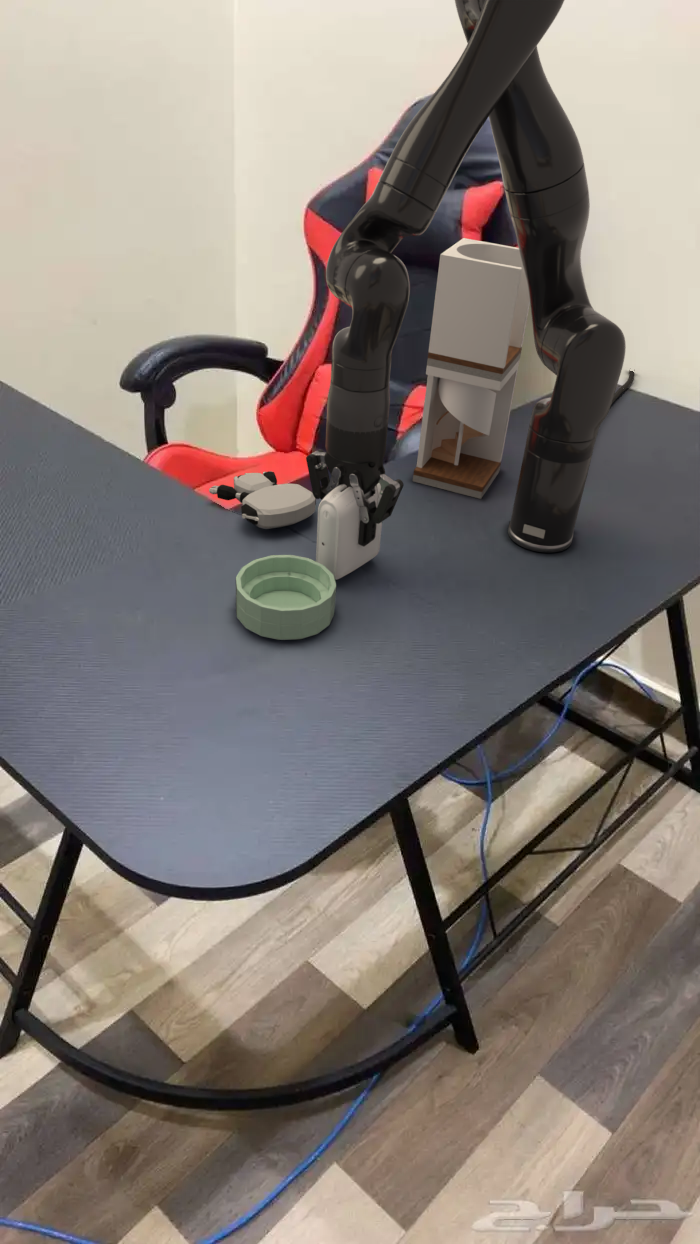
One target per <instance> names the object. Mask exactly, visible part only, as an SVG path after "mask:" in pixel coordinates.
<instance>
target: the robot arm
mask: <svg viewBox="0 0 700 1244" xmlns="http://www.w3.org/2000/svg"><path fill="white" fill-rule="evenodd" d="M564 3H565V0H454V4H455V8H456V13H457V16H458V19H459V22H460V26H461V29H462V31H463V34H464V37H465V41H466V43H467V44H466V46H465V48H464V49H463V51H462V53H461V55H460V57H459V59H458V60H457V61H456V63H455V65H454V66H453V68H452V69H451V71H450V72H449V73H448V75H447V76H446V77H445V79H444V80H443V82H442V83H441V84H440V85H439V87H438V88H437V89H436V90H435V92H434V93H433V94H432V95H431V96H430V97H429V99H428V100H427V101H426V102H425V104H423V106H422V107H421V108H420V109H419V110H418V112H416V114H415V115H414V116H413V118H412V119H411V120H410V122H409V123H408V124H407V126H406V128H405V129H404V131H403V132H402V134H401V136H400V137H399V139H398V141H397V142H396V144H395V146H394V148H393V150H392V152H391V153H390V157H389V158H388V160H387V162H386V164H385V167H384V169H383V170H382V172H381V175H380V177H379V179H378V181H377V183H376V185H375V188H374V190H373V192H372V194H371V196H370V197H369V198H368V200H367V201H365V203H364V204H363V205H362V207H361V208H360V209H359V210H358V212H356V214H355V216H354V217H353V218H352V220H350V222H349V223H348V225H347V226H346V227H345V229H344V230H343V231H342V232H341V234H340V235H339V236H338V238H337V239H336V241H335V243H334V244H333V246H332V249H331V251H330V253H329V256H328V258H327V263H326V268H325V281H326V285H327V287H328V290H329V292H330V293H331V294H332V295H333V296H334V297H335V298H336V299H338V300H339V301H341V302H342V303H344V304H345V305H347V306H348V307H350V308H351V309H352V316H351V322H350V325H349V326H347V327H344V328H342V329H340V330H339V331H338V332H337V333H336V335H335V336H334V339H333V341H332V347H331V348H332V350H331V364H330V365H331V368H330V382H329V388H328V393H327V401H326V402H327V403H326V423H325V424H326V425H325V445H324V446H325V451H326V452H325V451H324V450H323V449H321V448H320V449H318V450H315V451H313V452H311V453H310V454H308V455H307V456H306V458H305V460H306V466H307V469H308V470H307V471H308V476H309V480H310V485H311V490H312V491H311V492H313V496H314V497H315V498H316V500H319V499H320V500H321V501H322V500H323V498H324V497H325V496H326V495H327V494H328V493H330V492H331V491H332V490H333V489H334V488H336V487H337V486H339V485H341V484H345V485H346V486H347V488H348V487H352V488H353V493H354V497H355V500H356V503H357V506H359V507H360V508H359V510H360V515H361V521H360V529H359V545H361V546H363V547H364V546H366V545H367V544H369V543H370V542H371V541H373V540H374V539H375V535H376V524H379V523H381V522H382V523H383V522H384V521H386V520H387V519H388V518H390V517H391V516H392V514H393V512H394V509H395V506H396V504H397V502H398V500H399V497H400V495H401V493H402V490H403V488H404V482H403V480H402V479H400V478H397V479H396V480H394V479H392V478H391V477H390V476H388V475H387V474H386V469H385V467H384V458H385V455H386V451H387V439H388V430H389V429H388V427H389V415H390V408H391V407H390V406H391V394H390V393H391V392H390V379H391V369H392V368H391V367H392V358H393V349H394V346H395V344H396V341H397V339H398V337H399V334H400V331H401V328H402V325H403V320H404V318H405V315H406V312H407V310H408V306H409V302H410V296H411V295H410V294H411V282H410V277H409V273H408V272H409V271H408V269H407V266H406V265H405V264H404V262H403V261H402V259H400V258H399V257H398V256H396V255H395V254H393V253H392V252H393V251H394V250H395V248H397V246H398V245H399V243H400V242H401V241H402V240H403V239H404V238H406V237H419V236H421V235H423V234H424V233H425V232H426V231H427V229H428V228H429V226H430V225H431V223H432V221H433V219H434V217H435V215H436V213H437V211H438V209H439V207H440V206H441V203H442V201H443V199H444V197H445V196H446V194H447V192H448V190H449V187H450V186H451V184H452V182H453V179H454V178H455V176H456V174H457V171H458V170H459V168H460V166H461V164H462V162H463V160H464V159H465V158H464V157H465V156H466V154H467V153H468V151H469V150H470V147H471V146H472V144H473V142H474V141H475V139H476V138H477V136H478V134H480V131H481V130H482V128H483V126H484V124H485V123H486V121H487V120H488V121H489V125H490V129H491V134H492V137H493V142H494V146H495V150H496V154H497V159H498V164H499V167H500V174H501V178H502V179H501V180H502V185H503V189H504V193H505V194H504V195H505V197H506V198H505V199H506V202H507V206H508V211H509V216H510V219H511V222H512V227H513V230H514V235H515V238H516V243H517V248H519V252H520V256H521V260H522V264H523V267H524V271H525V275H526V279H527V284H528V290H529V297H530V306H529V307H530V313H531V314H530V315H531V323H532V324H531V325H532V334H533V341H534V346H535V350H536V355H537V356H538V358H539V359H540V361H541V363H542V364H543V365H544V366H545V368H547V369H548V370H549V371H550V372H551V373H552V374H554V375H555V376H556V378H555V382H554V386H553V390H552V393H551V397H545V398H543V399H540V400H538V401H537V402H536V403H535V404H534V405H533V407H532V409H531V410H532V411H531V414H530V420H529V425H528V430H527V435H526V440H525V444H524V449H523V450H524V451H523V456H522V461H521V465H520V471H519V476H518V481H517V487H516V491H515V497H514V502H513V506H512V511H511V517H510V521H509V524H508V528H507V534H508V537H509V538H510V539H511V541H512V542H514V543H515V544H517V545H518V546H520V547H522V548H524V549H527V550H530V551H533V552H538V553H559V552H562V551H565V550H566V549H568V548H570V546H571V545H572V543H573V538H574V531H575V527H576V523H577V519H578V515H579V511H580V507H581V503H582V498H583V495H584V492H585V491H584V490H585V486H586V482H587V477H588V474H589V469H590V466H591V461H592V457H593V452H594V448H595V444H596V440H597V436H598V433H599V429H600V426H601V425H602V423H603V422H604V420H605V419H606V417H608V414H609V412H610V409H611V407H612V405H613V404H614V402H616V400H617V399H618V398H619V397H620V396H621V395H622V394H623V393H624V392H625V391H626V390H627V389H628V388H629V387H630V386H631V385H632V383H633V381H634V378H635V373H634V372H633V371H630V369H629V370H628V374H629V375H628V378H627V380H626V382H625V383H623V384H622V385H621V386H620V387H621V388H620V387H619V388H618V389H617V387H618V384H619V380H620V377H621V374H622V370H623V367H624V362H625V358H626V347H627V346H626V338H625V335H624V332H623V330H622V329H621V328H620V327H619V326H618V325H617V323H615V322H614V321H612V320H611V319H609V318H607V317H606V316H604V315H603V314H601V313H600V312H598V311H597V310H595V309H594V308H593V306H592V304H591V301H590V299H589V295H588V292H587V289H586V285H585V279H584V275H583V272H582V271H583V269H582V259H581V256H582V248H583V244H584V243H583V242H584V239H585V236H586V231H587V228H588V223H589V216H590V191H589V184H588V179H587V173H586V166H585V160H584V155H583V151H582V148H581V144H580V141H579V139H578V135H577V134H576V133H577V132H575V129H574V127H573V124H572V123H571V121H570V119H569V117H568V115H567V113H566V111H565V110H564V108H563V106H562V105H561V102H560V101H559V99H558V97H557V96H556V93H555V92H554V90H553V88H552V86H551V84H550V81H548V78H547V75H546V73H545V71H544V68H543V64H542V62H541V57H540V54H539V49H538V45H539V44H540V42H541V40H542V39H543V37H544V36H545V35H546V33H547V32H548V30H549V29H550V27H551V26H552V24H553V23H554V21H555V19H556V18H557V16H558V14H559V13H560V11H561V9H562V7H563V4H564ZM623 388H624V389H623ZM329 473H330V474H329ZM378 483H380V485H381V491H380V494H381V495H382V496H381V499H380V501H379V504H378V502H377V499H378V497H379V494H378V489H377V484H378ZM369 491H370V493H369V495H367V496H366V497H364V495H365V494H366V493H368V492H369Z"/></svg>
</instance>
